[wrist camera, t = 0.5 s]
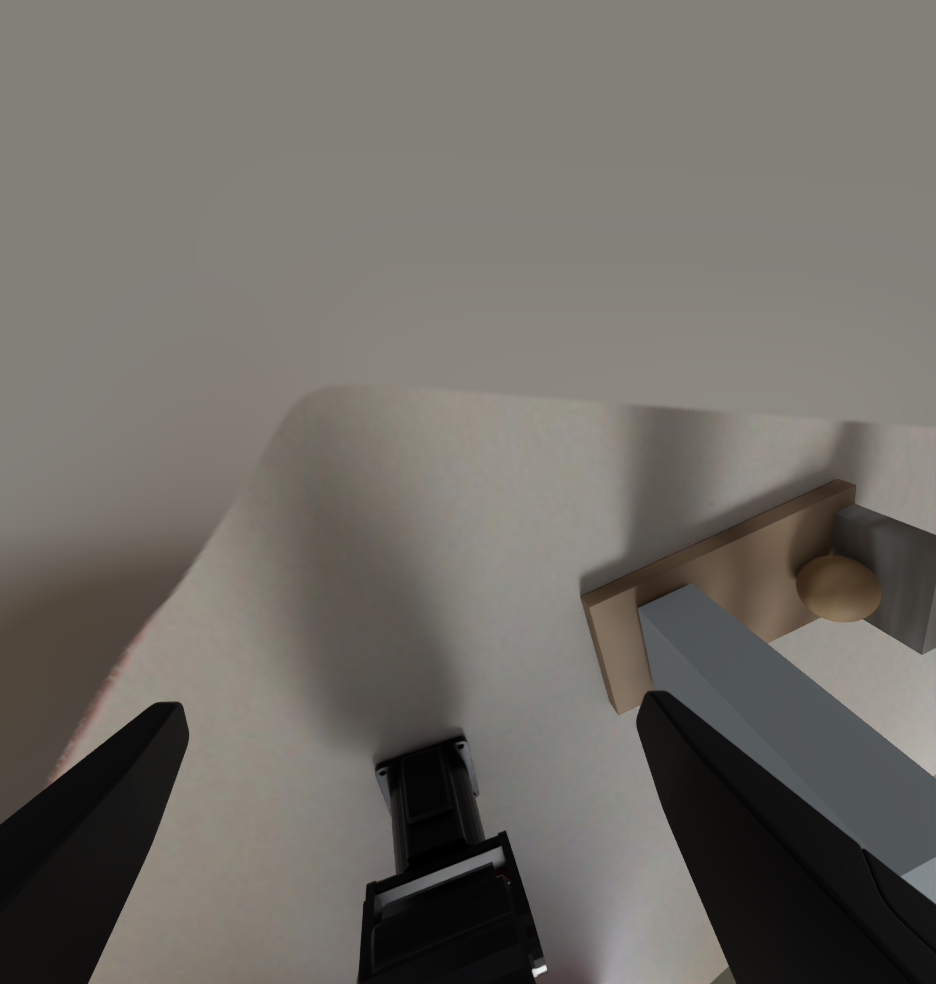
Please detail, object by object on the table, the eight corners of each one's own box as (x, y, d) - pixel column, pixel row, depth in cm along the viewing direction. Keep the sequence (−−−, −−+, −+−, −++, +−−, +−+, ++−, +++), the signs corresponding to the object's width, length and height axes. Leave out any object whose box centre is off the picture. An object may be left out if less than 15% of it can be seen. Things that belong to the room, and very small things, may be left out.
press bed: (610, 702, 34) (671, 796, 27) (580, 596, 29) (646, 679, 22) (831, 595, 35) (938, 660, 29) (838, 479, 30) (969, 524, 24)
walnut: (780, 605, 32) (840, 646, 28) (779, 559, 30) (843, 596, 26) (830, 581, 33) (897, 618, 29) (833, 534, 31) (904, 567, 27)
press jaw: (654, 688, 32) (876, 965, 18) (637, 608, 28) (897, 878, 15) (702, 665, 32) (954, 921, 19) (691, 583, 29) (993, 825, 15)
